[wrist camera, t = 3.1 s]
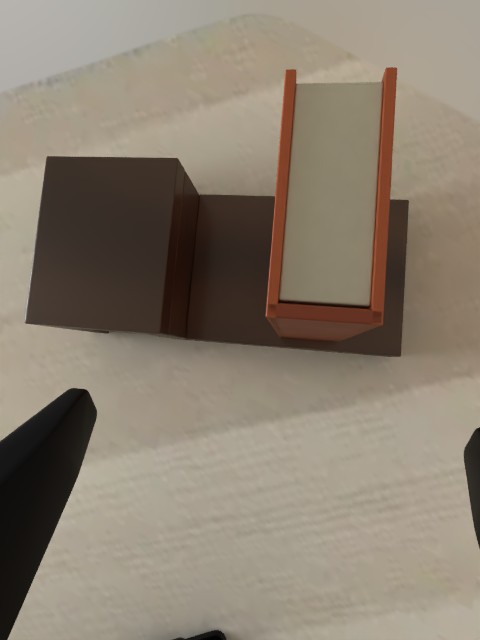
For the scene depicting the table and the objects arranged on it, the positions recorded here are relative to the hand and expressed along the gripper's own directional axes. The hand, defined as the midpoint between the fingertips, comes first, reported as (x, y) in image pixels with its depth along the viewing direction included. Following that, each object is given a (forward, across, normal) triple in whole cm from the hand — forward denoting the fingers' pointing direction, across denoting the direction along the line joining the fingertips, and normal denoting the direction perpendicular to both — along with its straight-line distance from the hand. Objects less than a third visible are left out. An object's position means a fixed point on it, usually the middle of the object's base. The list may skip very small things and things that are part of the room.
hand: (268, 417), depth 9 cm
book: (+12, -1, +4) cm, 12 cm away
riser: (+13, +3, +5) cm, 15 cm away
